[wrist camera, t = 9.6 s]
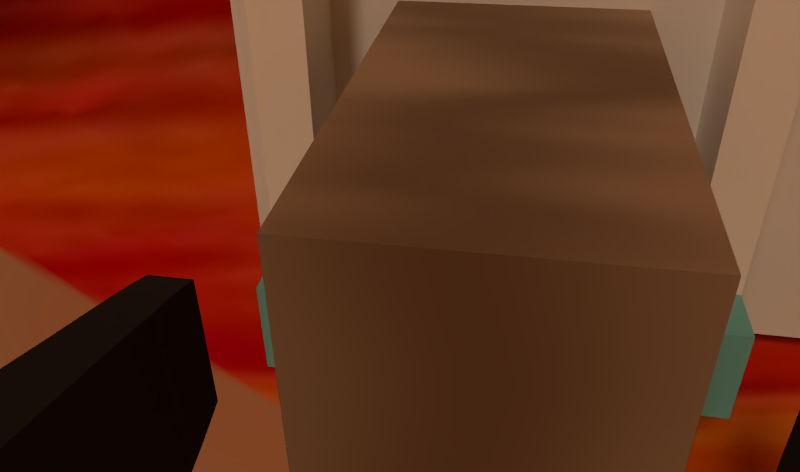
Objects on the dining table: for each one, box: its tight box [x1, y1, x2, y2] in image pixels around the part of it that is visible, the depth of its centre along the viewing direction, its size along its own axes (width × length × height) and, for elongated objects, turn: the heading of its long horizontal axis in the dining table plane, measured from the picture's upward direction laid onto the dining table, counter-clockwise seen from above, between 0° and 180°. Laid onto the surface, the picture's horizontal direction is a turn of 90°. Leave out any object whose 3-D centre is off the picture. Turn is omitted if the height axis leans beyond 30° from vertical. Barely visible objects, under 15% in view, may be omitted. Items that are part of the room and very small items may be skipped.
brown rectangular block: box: [257, 1, 741, 472], centre depth 12 cm, size 4×4×8 cm
